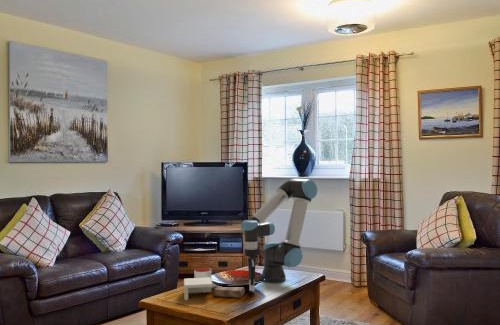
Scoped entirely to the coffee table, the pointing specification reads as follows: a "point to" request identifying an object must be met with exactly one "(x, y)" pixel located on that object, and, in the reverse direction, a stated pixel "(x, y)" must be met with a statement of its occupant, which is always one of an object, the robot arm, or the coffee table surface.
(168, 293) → the coffee table surface
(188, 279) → the shelf
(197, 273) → the cup
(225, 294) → the board
